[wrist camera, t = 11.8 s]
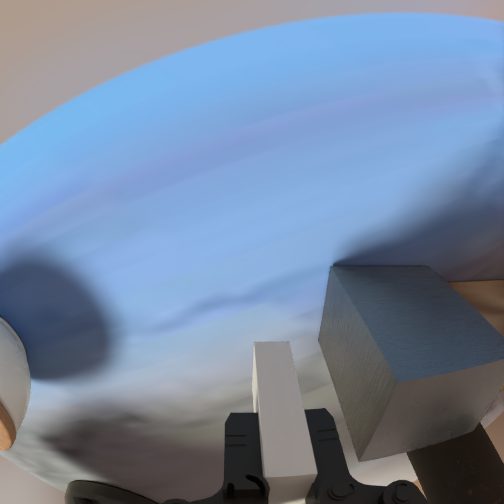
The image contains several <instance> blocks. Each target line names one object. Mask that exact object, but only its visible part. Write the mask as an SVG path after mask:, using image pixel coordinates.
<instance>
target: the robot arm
mask: <svg viewBox="0 0 504 504" xmlns="http://www.w3.org/2000/svg"><path fill="white" fill-rule="evenodd" d="M252 391H253V407H254V413H230V415H229V417H228V419H227V421H226V422H225V454H224V483H223V486H222V488H221V489H220V490H219V492H218V493H216V494H215V495H213V496H212V497H209V498H206V499H202V500H198V501H193V502H188V501H186V500H183V499H171V500H167V501H165V502H163V503H162V504H304V503H305V502H306V504H430V503H429V502H428V501H427V499H426V498H425V497H424V495H423V494H422V493H421V491H420V490H419V488H418V487H417V486H416V485H415V484H414V483H412V482H410V481H407V480H398V481H394V482H392V483H391V484H389V485H388V486H373V485H365V484H362V483H360V482H358V481H356V480H355V479H354V478H353V477H352V476H351V475H350V473H349V470H348V467H347V464H346V460H345V457H344V453H343V449H342V446H341V442H340V440H339V435H338V432H337V430H336V425H335V422H334V418H333V417H332V416H331V414H330V413H329V412H328V411H327V410H326V409H325V408H322V409H310V410H304V407H303V402H302V398H301V393H300V388H299V384H298V379H297V375H296V370H295V366H294V361H293V357H292V352H291V348H290V343H289V341H287V342H254V358H253V380H252ZM65 504H156V503H154V502H152V501H150V500H148V499H146V498H143V497H141V496H138V495H136V494H133V493H130V492H127V491H124V490H121V489H118V488H114V487H111V486H107V485H103V484H98V483H93V482H86V481H74V482H71V483H69V484H68V487H67V490H66V493H65Z"/></svg>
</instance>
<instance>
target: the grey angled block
mask: <svg viewBox="0 0 504 504" xmlns="http://www.w3.org/2000/svg"><path fill="white" fill-rule="evenodd" d="M318 341H319V344H320V346H321V349H322V352H323V355H324V358H325V361H326V364H327V367H328V370H329V372H330V375H331V378H332V381H333V384H334V387H335V390H336V393H337V396H338V399H339V402H340V405H341V408H342V411H343V414H344V417H345V420H346V423H347V426H348V430H349V433H350V436H351V439H352V442H353V445H354V448H355V451H356V455H357V458H358V461H359V462H362V461H368V460H373V459H378V458H383V457H387V456H392V455H396V454H400V453H404V452H408V451H412V450H416V449H419V448H423V447H427V446H430V445H433V444H437V443H440V442H443V441H446V440H449V439H452V438H455V437H458V436H461V435H464V434H467V433H469V432H472V431H474V429H475V428H476V426H477V425H478V424H479V422H480V421H481V419H482V418H483V416H484V415H485V413H486V412H487V410H488V409H489V407H490V406H491V404H492V403H493V401H494V399H495V398H496V396H497V394H498V393H499V391H500V390H501V388H502V386H503V384H504V337H503V336H502V335H501V334H500V333H499V332H498V331H497V330H496V329H495V328H494V327H493V326H492V325H491V324H490V323H489V322H488V321H487V320H486V319H485V318H484V317H483V316H482V315H481V314H480V313H479V312H478V311H477V310H476V309H475V308H474V307H473V306H472V305H471V304H470V303H468V302H467V301H466V300H465V299H464V298H463V297H462V296H461V295H460V294H459V293H458V292H457V291H456V290H454V289H453V288H452V287H451V286H450V285H449V284H448V283H447V282H446V281H444V280H443V279H442V278H441V277H440V276H439V275H438V274H437V273H435V272H434V271H433V270H432V269H431V268H430V267H428V266H330V272H329V279H328V285H327V292H326V298H325V304H324V310H323V316H322V322H321V327H320V333H319V338H318Z"/></svg>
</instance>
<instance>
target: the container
mask: <svg viewBox="0 0 504 504" xmlns="http://www.w3.org/2000/svg"><path fill="white" fill-rule="evenodd" d="M407 455H408V457H409V459H410V462H411V464H412V466H413V468H414V470H415V473H416V475H417V477H418V480H419V482H420V484H421V486H422V489H423V491H424V494H425V496H426V498H427V501H428V502H429V503H430V504H504V463H503V462H502V460H501V458H500V456H499V454H498V452H497V451H496V449H495V447H494V445H493V444H492V442H491V440H490V438H489V436H488V435H487V433H486V431H485V430H484V428H483V426H482V425H481V423H480V422H479V424H478V425H477V426H476V428H475V429H474V431H472V432H469V433H467V434H464V435H461V436H458V437H455V438H452V439H449V440H446V441H443V442H440V443H437V444H433V445H430V446H427V447H423V448H419V449H416V450H412V451H408V452H407Z"/></svg>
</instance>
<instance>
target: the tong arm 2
mask: <svg viewBox="0 0 504 504" xmlns="http://www.w3.org/2000/svg"><path fill="white" fill-rule="evenodd" d="M448 284H449V285H450V286H451V287H452V288H453V289H454V290H456V291H457V292H458V293H459V294H460V295H461V296H462V297H463V298H464V299H465V300H466V301H467V302H468V303H470V304H471V305H472V306H473V307H474V308H475V309H476V310H477V311H478V312H479V313H480V314H481V315H482V316H483V317H484V318H485V319H486V320H487V321H488V322H489V323H490V324H491V325H492V326H493V327H494V328H495V329H496V330H497V331H498V332H499V333H500V334H501V335H502V336H503V337H504V280H494V281H473V282H448Z"/></svg>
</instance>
